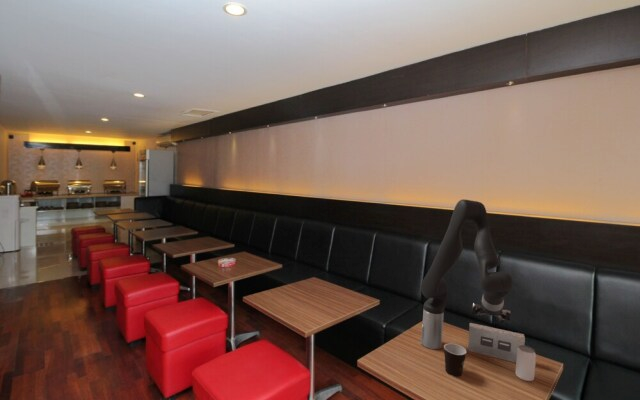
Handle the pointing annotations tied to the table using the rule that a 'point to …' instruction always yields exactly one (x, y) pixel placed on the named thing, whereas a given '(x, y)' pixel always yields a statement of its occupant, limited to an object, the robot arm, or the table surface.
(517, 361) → the can
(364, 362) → the table surface
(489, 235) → the robot arm
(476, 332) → the psu panel
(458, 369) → the coffee mug
